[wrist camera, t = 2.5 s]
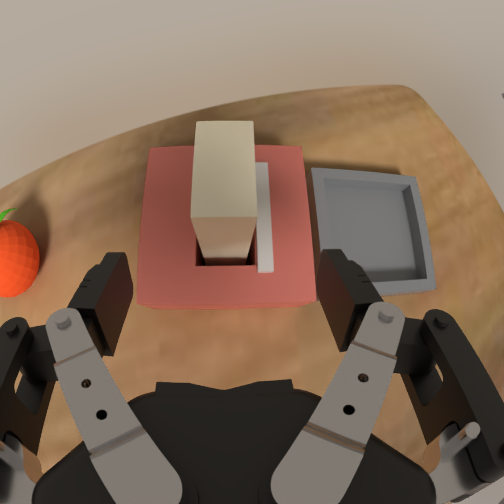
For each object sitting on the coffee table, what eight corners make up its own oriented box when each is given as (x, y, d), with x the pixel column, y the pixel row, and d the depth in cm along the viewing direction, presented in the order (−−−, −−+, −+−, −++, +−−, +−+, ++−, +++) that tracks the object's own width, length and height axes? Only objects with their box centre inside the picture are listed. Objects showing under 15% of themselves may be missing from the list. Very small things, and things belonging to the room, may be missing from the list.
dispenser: (290, 175, 28) (303, 142, 22) (299, 306, 25) (319, 299, 19) (161, 177, 27) (148, 143, 21) (154, 308, 24) (134, 302, 18)
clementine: (20, 217, 25) (-19, 191, 18) (65, 231, 25) (25, 203, 18) (-2, 289, 23) (-47, 276, 16) (41, 311, 23) (-6, 303, 16)
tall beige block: (242, 207, 26) (253, 120, 15) (244, 269, 25) (257, 216, 14) (208, 207, 26) (196, 121, 15) (207, 269, 25) (190, 217, 13)
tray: (404, 186, 29) (415, 176, 26) (422, 292, 26) (436, 289, 23) (304, 180, 28) (311, 167, 25) (315, 300, 25) (324, 297, 23)
